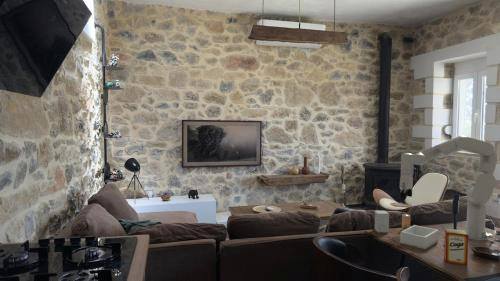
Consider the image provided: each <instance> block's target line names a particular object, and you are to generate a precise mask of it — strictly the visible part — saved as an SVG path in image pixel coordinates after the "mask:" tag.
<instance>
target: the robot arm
mask: <svg viewBox="0 0 500 281" xmlns="http://www.w3.org/2000/svg"><path fill="white" fill-rule="evenodd" d="M461 151H465V152H468V153H472V154H475V155H479V163H478V166H477V169H476V172H475V174H474V176H473V180H474V182H475V184H474V186H471V187H470V188H468V190H467V191H466V203H467V205H466V206H467V207H466V208H467V210H466V232H467V234H468V240H469V239H470V240H473V241H482V242H483V241H488V240H489V239H494V235H493V234H492V233H487V230H486V212H487V210H486V209H487V208H486V205H487V204H488V202H490V199H491V197H492V194H493V192H494V190H495V187H496V181H497V180H496V177H495V175H494V174H495V173H494V172H495V170H496V166H497V162H498V156H497V153H496V151H495V147H494V144H492V143H491V142H489V141H485V140H480V139H477V138H474V137H471V136H467V135H459V136H456V137H454V138H451V139H449V140H446V141H443V142H442V143H439V144H436V145H434V146H432V147H429V148H427V149H424V150H421V151H419V152H417V153H416V154H415V153H410V152H404V153H401V157H400V177H399V178H400V180H399V189H400V190H399V191H400V199H404V200H406V199H407V197H413V185H414V179H413V175H414V166H424V165H426V163H427V162H428V161H431V160H433V159H437V158H445V157H447V156H450V155H452V154H455V153H459V152H461ZM488 238H489V239H488Z"/></svg>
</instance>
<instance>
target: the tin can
mask: <svg viewBox="0 0 500 281" xmlns="http://www.w3.org/2000/svg"><path fill="white" fill-rule="evenodd" d="M409 227H411V215H410V214H409V213H408V214H406V213H403V214H401V231H403V230H405V229H407V228H409Z"/></svg>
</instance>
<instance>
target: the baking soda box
mask: <svg viewBox="0 0 500 281" xmlns="http://www.w3.org/2000/svg"><path fill="white" fill-rule="evenodd" d="M443 243H444V245H443V246H444V247H443V248H444V249H443V259H444V261H445V264H446V263H447V264H453V265H462V266H468V255H469V254H468V252H469V238H468V234H467V230H463V229H462V230H461V229H456V228H444V241H443Z"/></svg>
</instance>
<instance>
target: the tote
mask: <svg viewBox="0 0 500 281" xmlns="http://www.w3.org/2000/svg"><path fill="white" fill-rule="evenodd" d="M399 233H400V235H399V237H400V238H399V239H400V241H399V243H401V245H404V246H408V247H412V248H416V249H420V250H425V249H426V250H427V249H429V248H430V247H432V246H435V245H436V244H437V243H438V242H439V229H435V228H431V227H425V226H421V225H420V226H419V225H416V224H413V225H410V227H409V228H407V229H405V230H401V231H400V232H399Z"/></svg>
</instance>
